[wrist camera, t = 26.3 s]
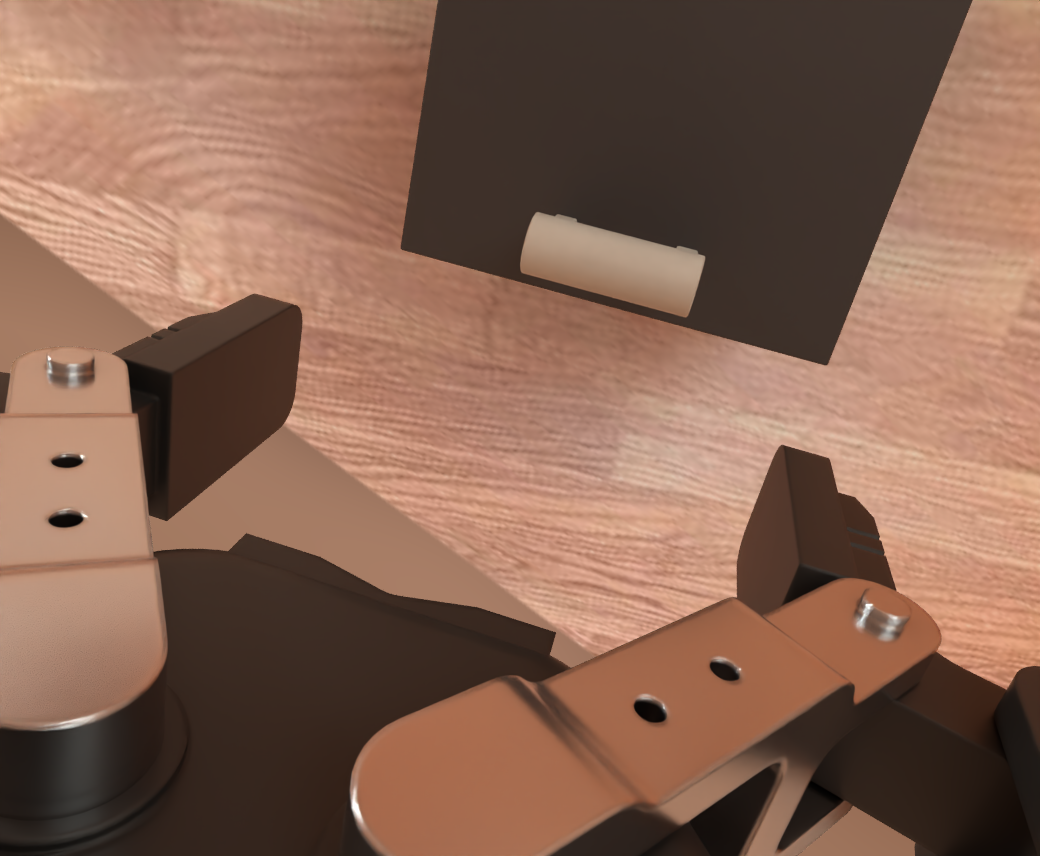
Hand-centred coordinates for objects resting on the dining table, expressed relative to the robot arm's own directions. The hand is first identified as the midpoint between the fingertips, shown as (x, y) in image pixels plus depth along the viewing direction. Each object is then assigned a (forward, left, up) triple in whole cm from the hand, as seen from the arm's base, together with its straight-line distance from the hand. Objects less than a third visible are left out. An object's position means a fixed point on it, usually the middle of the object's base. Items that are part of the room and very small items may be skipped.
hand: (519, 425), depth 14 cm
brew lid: (0, +6, -16) cm, 17 cm away
